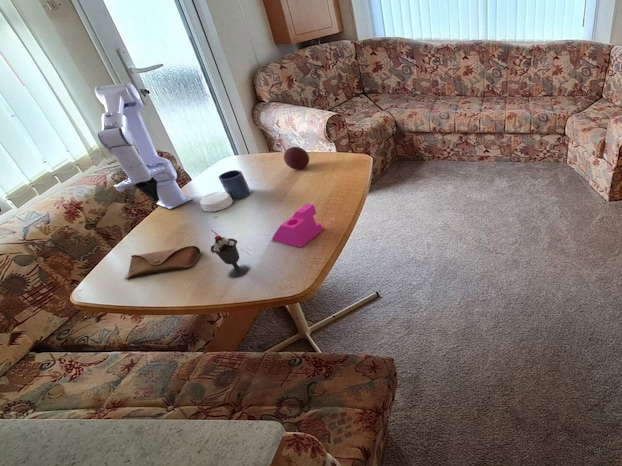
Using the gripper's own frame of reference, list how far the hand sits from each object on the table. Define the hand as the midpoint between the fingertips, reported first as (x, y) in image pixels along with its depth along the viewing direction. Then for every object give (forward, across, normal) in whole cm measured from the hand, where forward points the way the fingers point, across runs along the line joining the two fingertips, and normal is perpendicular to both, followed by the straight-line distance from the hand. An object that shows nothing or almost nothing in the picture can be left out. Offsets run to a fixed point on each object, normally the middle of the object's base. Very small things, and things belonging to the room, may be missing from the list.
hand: (155, 200), depth 132 cm
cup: (+9, +24, -5) cm, 26 cm away
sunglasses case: (+10, -15, -25) cm, 31 cm away
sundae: (+10, -7, -49) cm, 50 cm away
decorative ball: (+10, +51, -8) cm, 53 cm away
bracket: (+10, +14, -50) cm, 53 cm away
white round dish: (+10, +15, -5) cm, 18 cm away
